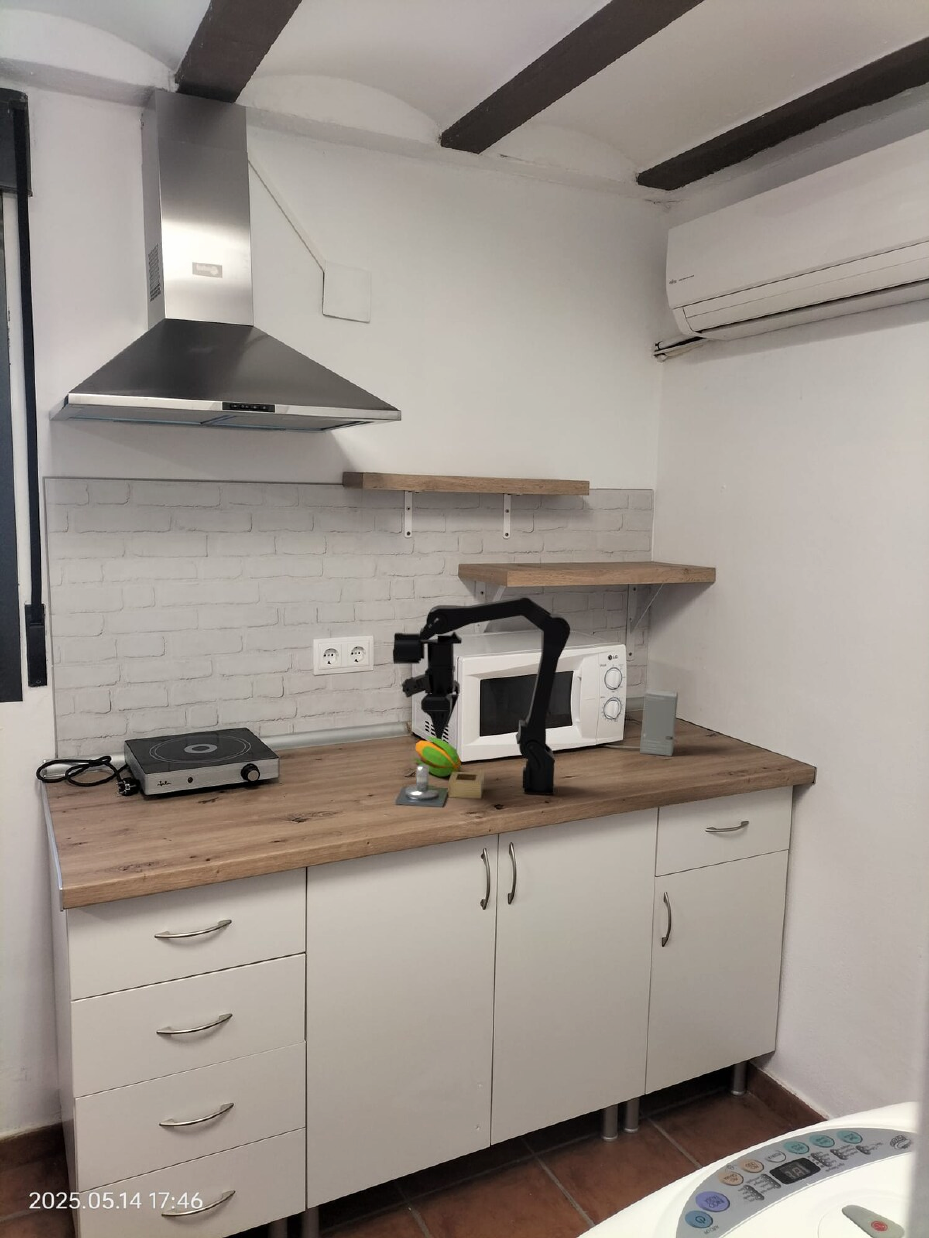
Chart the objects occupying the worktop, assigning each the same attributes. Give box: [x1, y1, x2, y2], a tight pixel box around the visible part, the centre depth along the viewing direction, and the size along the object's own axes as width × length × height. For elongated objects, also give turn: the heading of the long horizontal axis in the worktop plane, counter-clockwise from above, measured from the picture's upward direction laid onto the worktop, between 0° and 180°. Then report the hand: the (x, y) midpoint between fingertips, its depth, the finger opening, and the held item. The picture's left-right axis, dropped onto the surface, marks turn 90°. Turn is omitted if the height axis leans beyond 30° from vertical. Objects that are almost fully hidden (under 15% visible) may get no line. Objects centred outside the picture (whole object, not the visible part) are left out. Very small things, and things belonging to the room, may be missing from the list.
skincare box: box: [639, 688, 679, 757], centre depth 234 cm, size 8×7×16 cm
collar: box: [447, 771, 484, 799], centre depth 200 cm, size 7×7×4 cm
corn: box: [411, 736, 462, 778], centre depth 217 cm, size 7×8×20 cm
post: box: [394, 764, 449, 808], centre depth 196 cm, size 10×10×7 cm
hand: (441, 732), depth 201 cm, fingers open, 9 cm apart
